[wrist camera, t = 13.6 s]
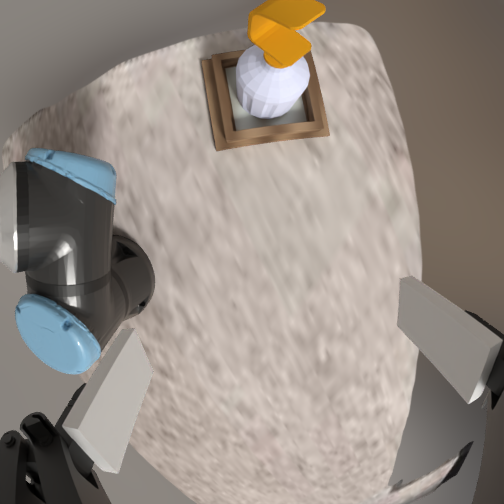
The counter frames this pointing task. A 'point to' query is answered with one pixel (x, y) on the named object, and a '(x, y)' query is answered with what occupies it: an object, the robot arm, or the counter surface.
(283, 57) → the orange capped white bottle
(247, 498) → the counter surface
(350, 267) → the counter surface
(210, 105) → the picture frame
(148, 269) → the robot arm
